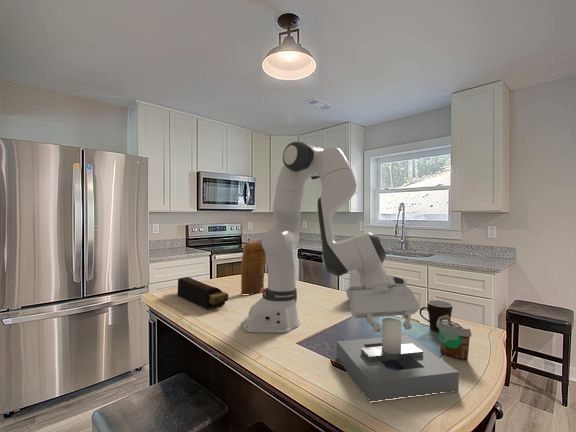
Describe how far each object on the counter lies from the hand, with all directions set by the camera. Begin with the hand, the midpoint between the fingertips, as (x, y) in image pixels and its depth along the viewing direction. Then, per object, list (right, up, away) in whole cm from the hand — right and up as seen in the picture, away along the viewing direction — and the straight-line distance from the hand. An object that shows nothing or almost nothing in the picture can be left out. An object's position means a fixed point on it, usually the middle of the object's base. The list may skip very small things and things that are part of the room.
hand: (393, 329), depth 82 cm
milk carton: (+5, -11, +66) cm, 67 cm away
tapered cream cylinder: (0, -6, +1) cm, 6 cm away
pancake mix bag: (-47, -11, +79) cm, 93 cm away
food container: (+22, -12, +13) cm, 28 cm away
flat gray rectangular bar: (0, -7, +1) cm, 7 cm away
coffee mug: (+27, -12, +32) cm, 44 cm away
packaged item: (-73, -11, +65) cm, 98 cm away
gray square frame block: (0, -12, +1) cm, 12 cm away
